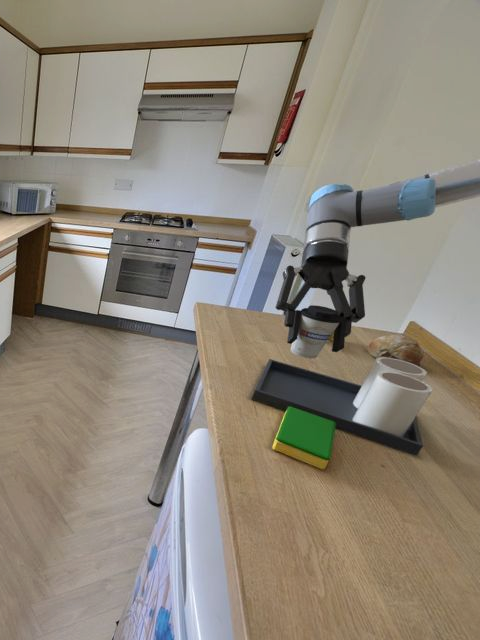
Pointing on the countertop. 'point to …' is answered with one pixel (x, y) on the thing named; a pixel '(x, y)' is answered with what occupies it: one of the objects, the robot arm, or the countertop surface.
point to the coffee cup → (314, 330)
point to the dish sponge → (305, 437)
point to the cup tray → (326, 402)
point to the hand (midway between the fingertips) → (314, 345)
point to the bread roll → (397, 348)
